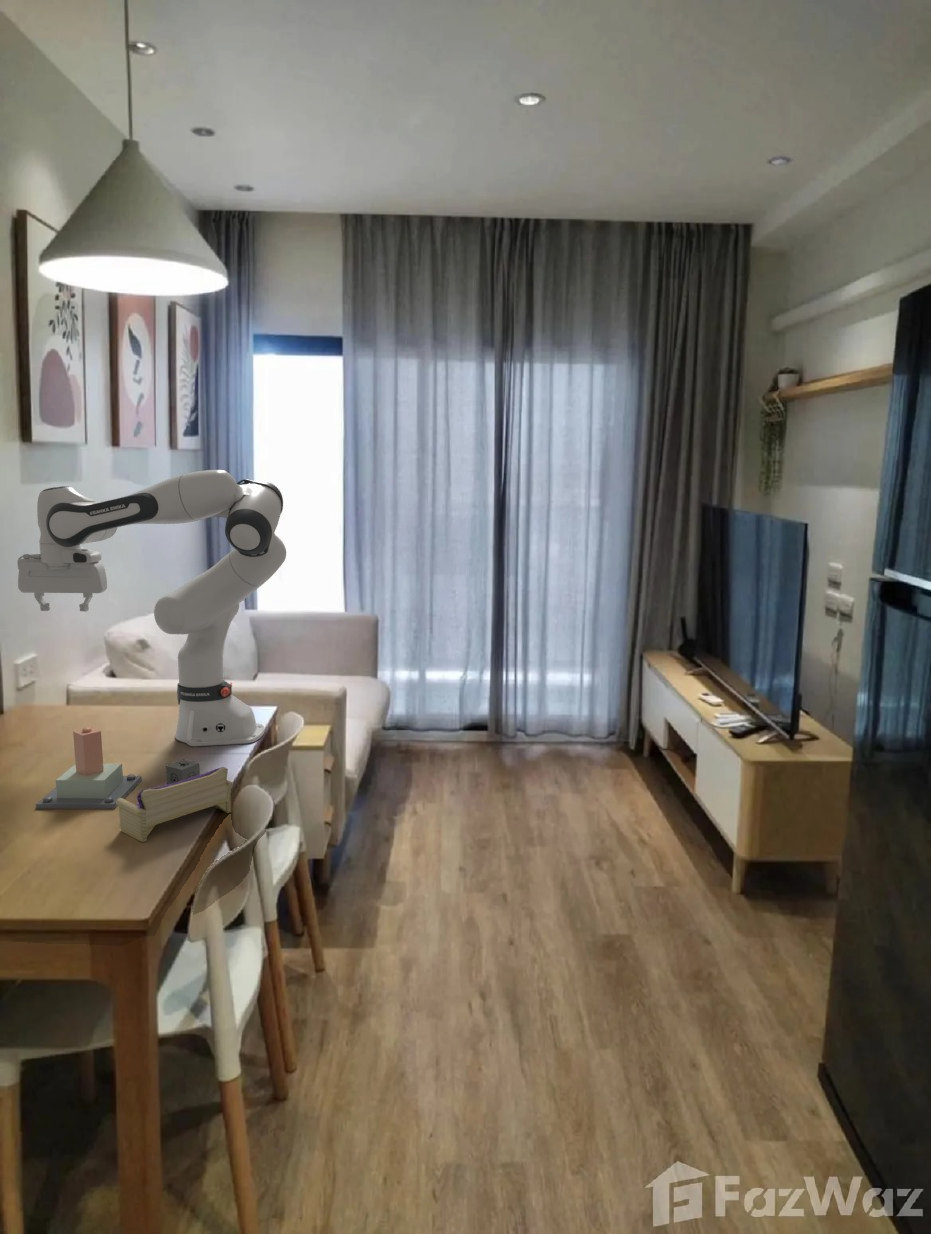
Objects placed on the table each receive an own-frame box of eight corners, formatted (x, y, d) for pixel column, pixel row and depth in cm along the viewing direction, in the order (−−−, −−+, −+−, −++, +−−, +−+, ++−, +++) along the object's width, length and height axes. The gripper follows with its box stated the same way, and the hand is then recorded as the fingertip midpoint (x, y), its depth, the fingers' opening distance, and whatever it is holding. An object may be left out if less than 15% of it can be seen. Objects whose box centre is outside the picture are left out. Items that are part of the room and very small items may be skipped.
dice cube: (183, 791, 187) (182, 769, 186) (166, 787, 189) (165, 765, 188) (200, 784, 191) (199, 762, 190) (184, 780, 193) (183, 759, 192)
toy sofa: (210, 800, 182) (208, 754, 180) (235, 811, 177) (233, 764, 175) (116, 832, 166) (113, 782, 165) (140, 845, 161) (137, 794, 159)
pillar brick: (94, 767, 186) (91, 724, 185) (103, 771, 184) (100, 728, 182) (76, 772, 183) (72, 728, 182) (85, 776, 181) (82, 732, 179)
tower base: (141, 780, 193) (140, 759, 192) (114, 808, 177) (113, 785, 176) (69, 780, 192) (68, 758, 191) (36, 808, 177) (34, 785, 176)
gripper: (10, 555, 204) (15, 612, 206) (97, 556, 204) (101, 613, 207) (23, 552, 210) (27, 608, 212) (107, 553, 210) (111, 609, 213)
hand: (64, 610), depth 209 cm, fingers open, 8 cm apart
